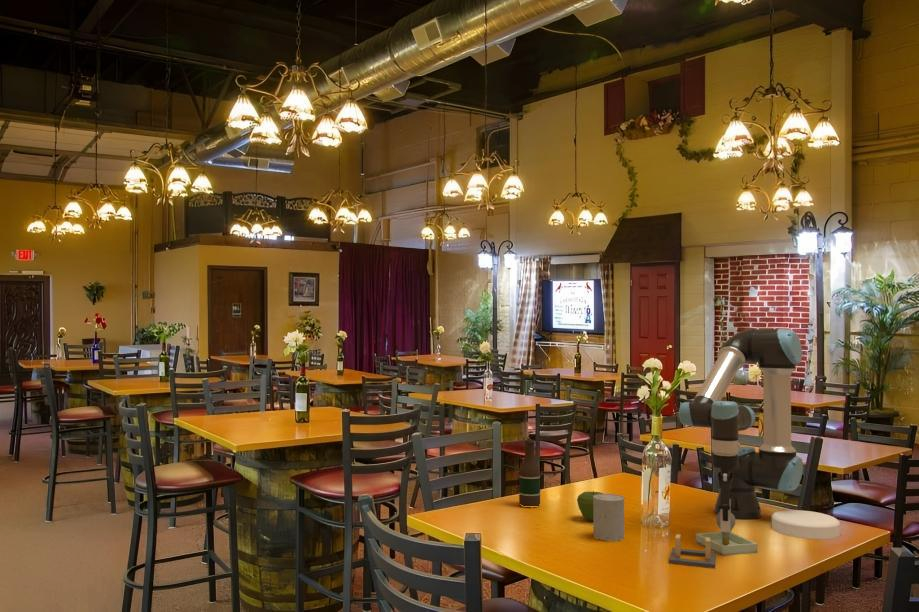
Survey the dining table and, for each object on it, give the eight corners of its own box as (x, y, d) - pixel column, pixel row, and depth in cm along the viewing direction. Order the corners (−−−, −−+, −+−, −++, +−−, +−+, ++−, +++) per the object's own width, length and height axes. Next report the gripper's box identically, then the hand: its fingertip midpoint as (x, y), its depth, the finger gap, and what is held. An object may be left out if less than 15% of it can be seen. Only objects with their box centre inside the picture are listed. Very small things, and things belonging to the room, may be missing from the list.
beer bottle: (517, 503, 270) (517, 438, 271) (537, 503, 271) (537, 438, 272) (521, 508, 263) (521, 441, 263) (542, 508, 263) (542, 441, 264)
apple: (613, 518, 249) (613, 489, 250) (604, 525, 240) (604, 495, 240) (582, 514, 254) (582, 485, 255) (572, 521, 245) (572, 491, 245)
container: (844, 543, 222) (844, 527, 223) (773, 536, 229) (773, 521, 229) (835, 526, 241) (835, 512, 241) (770, 521, 248) (769, 507, 248)
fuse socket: (668, 563, 201) (668, 541, 202) (672, 551, 213) (672, 530, 213) (715, 568, 197) (714, 545, 197) (716, 555, 208) (715, 534, 209)
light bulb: (737, 547, 214) (736, 513, 214) (717, 546, 215) (717, 511, 215) (733, 543, 219) (733, 509, 220) (714, 542, 220) (714, 508, 221)
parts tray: (695, 542, 222) (695, 533, 222) (729, 539, 225) (729, 531, 225) (722, 555, 209) (722, 546, 209) (757, 552, 211) (757, 543, 212)
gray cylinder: (601, 531, 233) (600, 492, 234) (629, 536, 228) (629, 496, 228) (587, 538, 226) (587, 497, 226) (617, 543, 220) (617, 502, 220)
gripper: (738, 461, 205) (739, 538, 204) (738, 448, 228) (738, 517, 227) (710, 459, 207) (711, 535, 206) (712, 446, 230) (713, 514, 230)
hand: (725, 526), depth 217 cm, fingers open, 13 cm apart
